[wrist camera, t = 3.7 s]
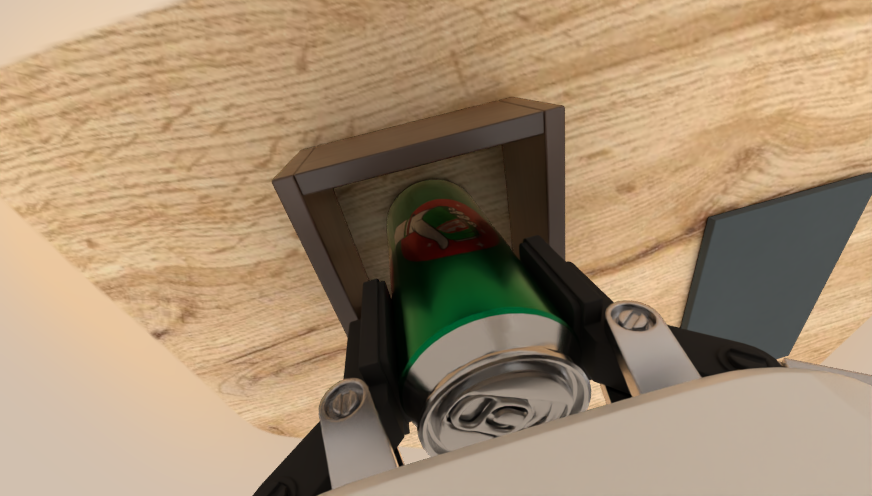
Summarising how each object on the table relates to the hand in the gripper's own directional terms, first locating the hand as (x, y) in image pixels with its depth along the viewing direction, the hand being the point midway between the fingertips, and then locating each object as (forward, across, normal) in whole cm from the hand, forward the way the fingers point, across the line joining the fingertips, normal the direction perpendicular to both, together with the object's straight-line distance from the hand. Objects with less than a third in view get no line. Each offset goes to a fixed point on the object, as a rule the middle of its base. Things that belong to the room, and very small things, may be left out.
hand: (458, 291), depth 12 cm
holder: (+7, 0, 0) cm, 7 cm away
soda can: (+7, 0, 0) cm, 7 cm away
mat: (+7, -24, +14) cm, 29 cm away
